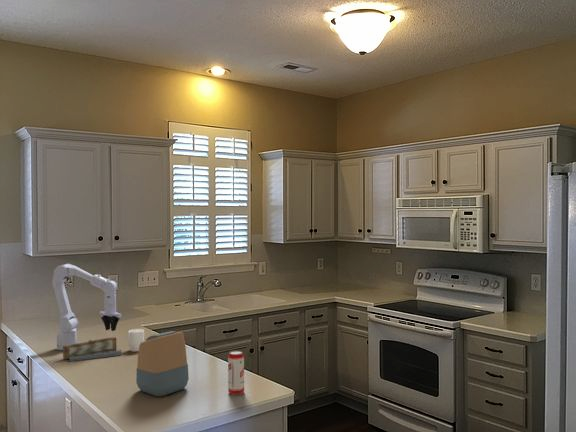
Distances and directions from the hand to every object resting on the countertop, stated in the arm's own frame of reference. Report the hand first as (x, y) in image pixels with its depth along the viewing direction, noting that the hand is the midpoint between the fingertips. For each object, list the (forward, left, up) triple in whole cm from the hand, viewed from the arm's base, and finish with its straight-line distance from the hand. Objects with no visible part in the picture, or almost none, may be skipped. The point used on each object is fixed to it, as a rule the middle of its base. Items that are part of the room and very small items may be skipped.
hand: (110, 330), depth 274 cm
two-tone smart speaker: (+58, -50, -10) cm, 77 cm away
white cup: (+15, 0, -10) cm, 18 cm away
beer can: (+88, -46, -10) cm, 100 cm away
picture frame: (-3, -13, -9) cm, 16 cm away
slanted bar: (+3, -17, -9) cm, 20 cm away
